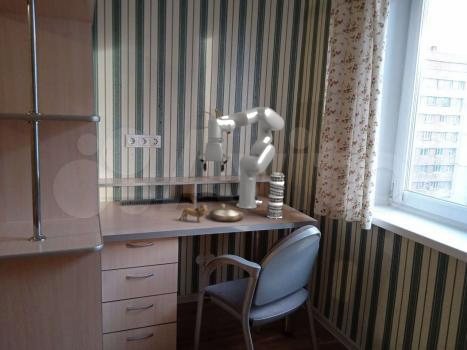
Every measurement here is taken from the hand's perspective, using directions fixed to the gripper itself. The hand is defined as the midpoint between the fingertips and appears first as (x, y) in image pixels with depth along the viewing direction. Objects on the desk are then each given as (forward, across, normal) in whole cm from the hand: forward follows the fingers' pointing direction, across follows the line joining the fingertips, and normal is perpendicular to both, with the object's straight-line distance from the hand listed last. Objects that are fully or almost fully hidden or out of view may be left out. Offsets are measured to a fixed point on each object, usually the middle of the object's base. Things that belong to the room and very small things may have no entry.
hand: (213, 171), depth 207 cm
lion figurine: (+24, +5, +22) cm, 32 cm away
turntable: (+24, -10, +10) cm, 27 cm away
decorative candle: (+24, -35, -2) cm, 43 cm away
